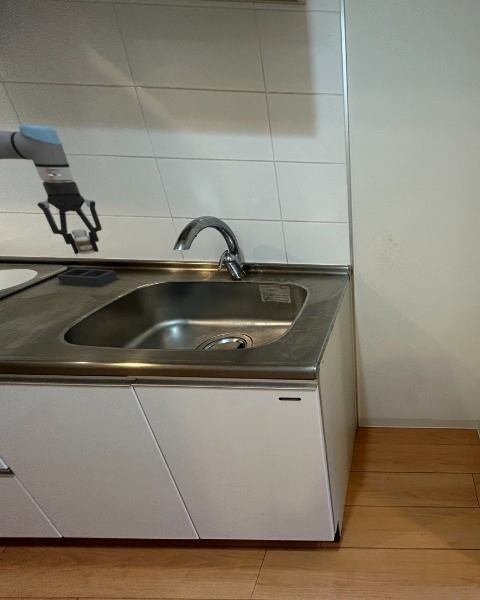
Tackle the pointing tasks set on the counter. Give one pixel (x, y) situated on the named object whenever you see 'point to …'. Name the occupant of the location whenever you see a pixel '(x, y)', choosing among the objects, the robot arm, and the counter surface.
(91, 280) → the grey divided tray
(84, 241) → the pill bottle
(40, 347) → the counter surface
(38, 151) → the robot arm
